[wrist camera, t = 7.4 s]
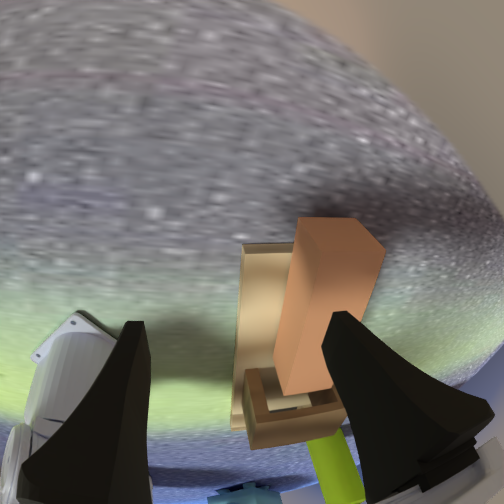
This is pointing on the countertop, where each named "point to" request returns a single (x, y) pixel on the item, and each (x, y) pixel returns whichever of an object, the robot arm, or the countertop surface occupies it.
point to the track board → (261, 326)
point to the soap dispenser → (336, 470)
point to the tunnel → (288, 416)
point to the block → (322, 295)
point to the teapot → (246, 496)
